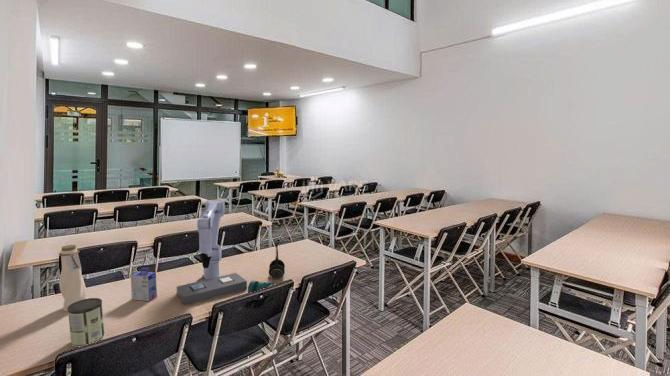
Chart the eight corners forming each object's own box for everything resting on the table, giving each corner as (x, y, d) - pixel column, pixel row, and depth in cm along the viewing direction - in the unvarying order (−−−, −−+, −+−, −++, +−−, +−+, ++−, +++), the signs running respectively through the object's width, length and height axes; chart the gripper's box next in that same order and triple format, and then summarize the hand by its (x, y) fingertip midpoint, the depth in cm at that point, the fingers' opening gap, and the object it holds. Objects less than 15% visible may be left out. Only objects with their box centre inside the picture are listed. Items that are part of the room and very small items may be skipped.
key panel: (176, 294, 165) (176, 286, 164) (236, 279, 183) (235, 272, 183) (184, 305, 154) (184, 296, 154) (246, 288, 173) (246, 281, 172)
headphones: (284, 271, 197) (284, 237, 194) (284, 281, 182) (284, 245, 180) (269, 271, 195) (269, 238, 193) (268, 282, 181) (267, 245, 178)
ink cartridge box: (158, 296, 162) (156, 267, 161) (149, 301, 157) (147, 271, 155) (140, 294, 164) (138, 265, 163) (131, 299, 159) (129, 270, 157)
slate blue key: (191, 291, 165) (190, 285, 164) (201, 289, 168) (201, 283, 167) (194, 295, 161) (194, 289, 160) (205, 292, 164) (204, 286, 163)
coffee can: (83, 332, 131) (80, 297, 129) (110, 332, 132) (108, 297, 130) (63, 348, 121) (59, 310, 119) (92, 347, 121) (89, 310, 120)
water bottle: (93, 304, 153) (88, 245, 150) (72, 314, 145) (67, 250, 141) (78, 301, 157) (72, 242, 153) (56, 310, 148) (50, 248, 145)
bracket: (260, 301, 159) (260, 285, 158) (248, 299, 161) (247, 283, 160) (278, 286, 176) (278, 271, 175) (266, 284, 178) (266, 270, 177)
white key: (219, 284, 173) (219, 279, 173) (229, 282, 176) (229, 276, 176) (223, 288, 169) (223, 282, 169) (233, 285, 172) (232, 279, 172)
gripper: (192, 240, 174) (193, 266, 175) (201, 244, 163) (202, 272, 164) (206, 238, 179) (207, 263, 180) (216, 243, 167) (216, 270, 168)
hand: (205, 267), depth 172 cm, fingers closed
